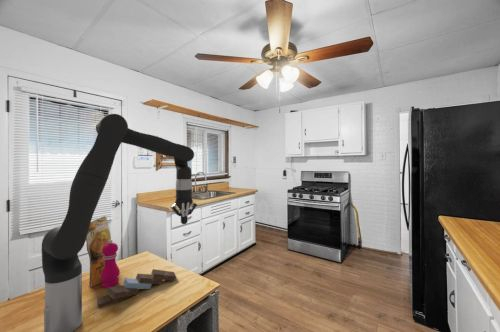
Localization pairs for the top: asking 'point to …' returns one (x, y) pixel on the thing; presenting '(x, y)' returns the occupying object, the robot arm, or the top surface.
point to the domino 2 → (108, 300)
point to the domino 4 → (147, 279)
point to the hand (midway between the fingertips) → (184, 223)
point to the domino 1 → (121, 291)
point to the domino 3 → (135, 284)
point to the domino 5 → (163, 275)
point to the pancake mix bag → (97, 248)
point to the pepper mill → (110, 265)
